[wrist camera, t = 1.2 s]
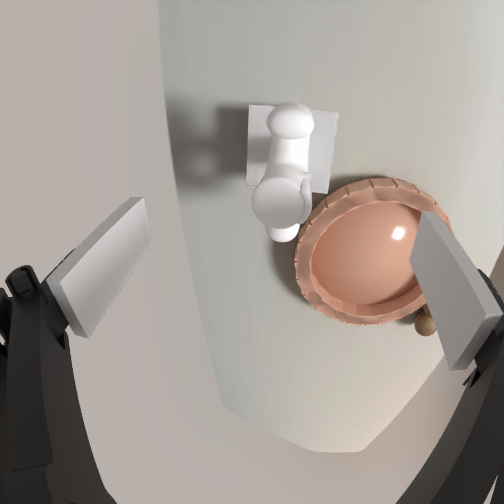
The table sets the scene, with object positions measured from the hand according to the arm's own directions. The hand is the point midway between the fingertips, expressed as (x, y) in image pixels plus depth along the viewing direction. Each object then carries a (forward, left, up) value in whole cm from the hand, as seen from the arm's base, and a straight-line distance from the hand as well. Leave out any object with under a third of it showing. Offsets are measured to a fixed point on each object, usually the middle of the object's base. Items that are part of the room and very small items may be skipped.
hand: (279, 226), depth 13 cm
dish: (+12, +10, -17) cm, 23 cm away
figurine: (0, 0, -17) cm, 17 cm away
